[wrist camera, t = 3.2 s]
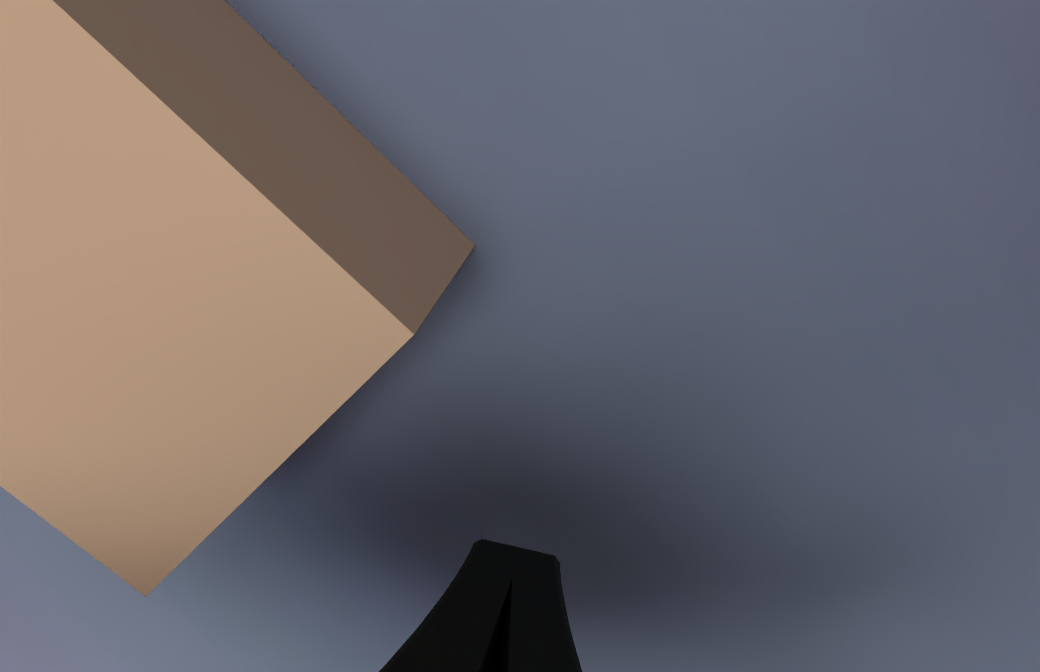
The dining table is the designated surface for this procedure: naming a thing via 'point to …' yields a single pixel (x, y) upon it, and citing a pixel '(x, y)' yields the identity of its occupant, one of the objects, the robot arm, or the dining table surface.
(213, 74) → the tan rectangular block
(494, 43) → the dining table surface
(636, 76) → the dining table surface
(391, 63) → the dining table surface
